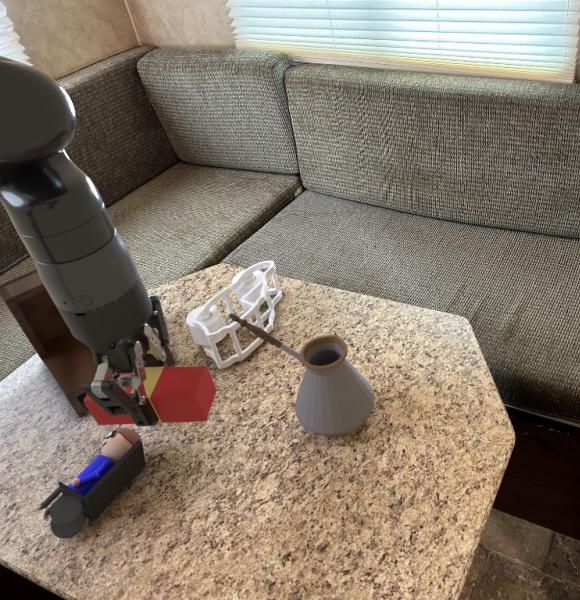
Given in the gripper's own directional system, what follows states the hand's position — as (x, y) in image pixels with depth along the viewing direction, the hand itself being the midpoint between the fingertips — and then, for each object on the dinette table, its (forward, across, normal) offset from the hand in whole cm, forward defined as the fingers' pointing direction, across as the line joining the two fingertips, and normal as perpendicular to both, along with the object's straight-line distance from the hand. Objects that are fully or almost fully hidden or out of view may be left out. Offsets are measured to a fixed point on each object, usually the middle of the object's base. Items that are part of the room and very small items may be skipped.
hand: (157, 404), depth 66 cm
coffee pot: (+20, -16, +11) cm, 28 cm away
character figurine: (+20, -2, -14) cm, 24 cm away
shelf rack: (+19, -26, -24) cm, 41 cm away
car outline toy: (+20, -35, -3) cm, 40 cm away
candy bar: (+1, 0, 0) cm, 1 cm away
